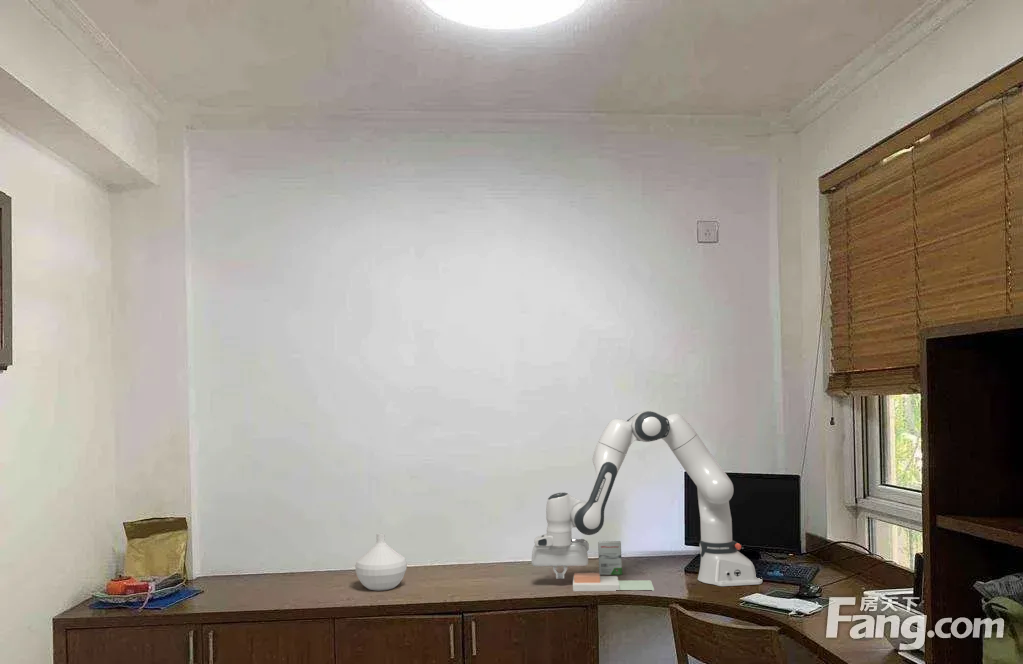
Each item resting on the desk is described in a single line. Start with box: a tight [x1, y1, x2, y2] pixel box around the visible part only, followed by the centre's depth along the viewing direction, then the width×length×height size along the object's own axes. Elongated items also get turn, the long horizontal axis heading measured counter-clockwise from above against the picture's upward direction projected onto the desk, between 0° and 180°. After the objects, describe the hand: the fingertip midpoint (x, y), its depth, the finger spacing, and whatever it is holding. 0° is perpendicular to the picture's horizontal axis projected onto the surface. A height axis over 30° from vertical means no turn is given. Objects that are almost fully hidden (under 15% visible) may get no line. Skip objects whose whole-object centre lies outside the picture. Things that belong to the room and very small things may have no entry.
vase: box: [354, 532, 408, 591], centre depth 313 cm, size 18×18×19 cm
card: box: [573, 572, 601, 583], centre depth 307 cm, size 9×6×2 cm, turn 86°
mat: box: [618, 579, 655, 592], centre depth 306 cm, size 12×13×1 cm
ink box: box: [597, 540, 623, 576], centre depth 326 cm, size 9×5×12 cm, turn 84°
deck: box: [572, 575, 619, 592], centre depth 307 cm, size 16×13×2 cm
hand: (560, 578), depth 308 cm, fingers closed
